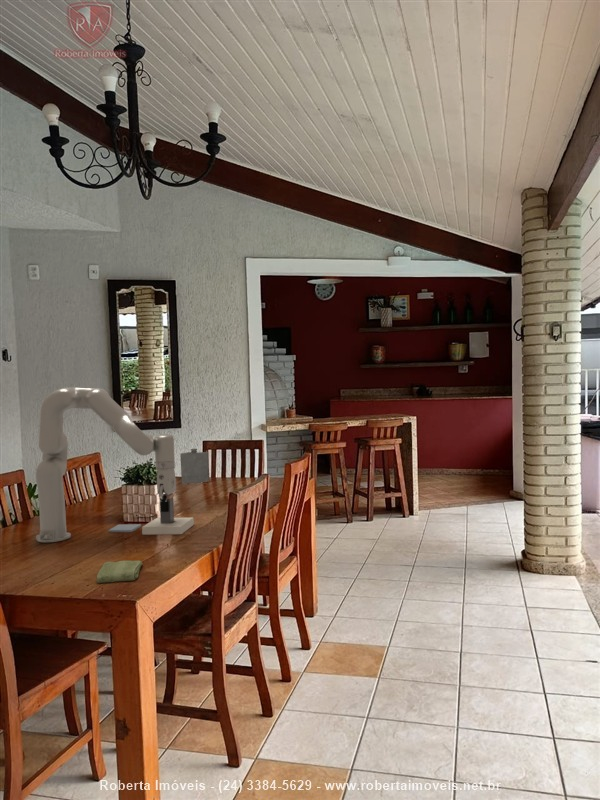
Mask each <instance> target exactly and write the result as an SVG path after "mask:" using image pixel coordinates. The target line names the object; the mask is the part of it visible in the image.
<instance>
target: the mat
mask: <svg viewBox="0 0 600 800" xmlns="http://www.w3.org/2000/svg"><path fill="white" fill-rule="evenodd" d="M140 528H142V524H141V523H139V524H137V523H135V524H133V523H132V524H131V523H130V524H121V523H120V524H117V525H115V526H114V527H112V528H110V529H108V530H107V532H108V533H133V532H135V531H137V530H138V529H140Z"/></svg>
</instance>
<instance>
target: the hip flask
mask: <svg viewBox="0 0 600 800" xmlns="http://www.w3.org/2000/svg"><path fill="white" fill-rule="evenodd" d="M209 459H210V457H209V452H208V451H204V452H203V451H202V452H201V451H200V452H198V448H190V451H188V452H181V453H180V473H181V474H180V475H181V477H180V478H181V484H182V485H187V484H186V483H201V482H207V481H211V480H210V479H211V478H210V460H209ZM201 484H202V483H201Z"/></svg>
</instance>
